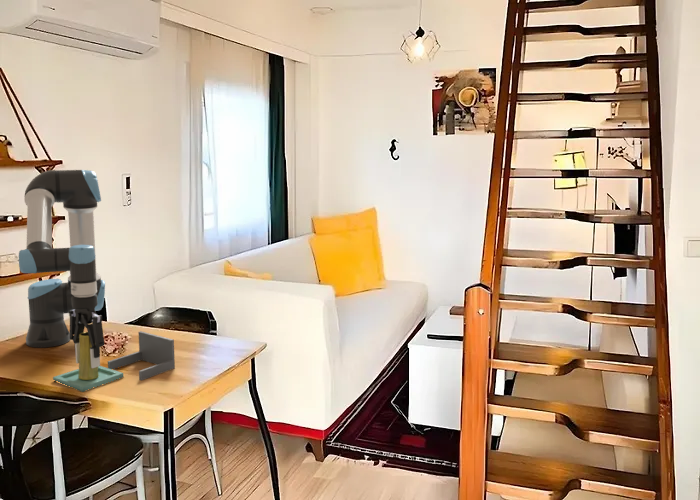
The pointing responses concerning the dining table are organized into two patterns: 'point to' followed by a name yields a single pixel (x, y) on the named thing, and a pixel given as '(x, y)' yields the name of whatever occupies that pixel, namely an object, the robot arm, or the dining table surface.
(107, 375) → the tray
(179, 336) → the dining table surface
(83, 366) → the vase
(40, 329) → the robot arm
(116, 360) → the dock
